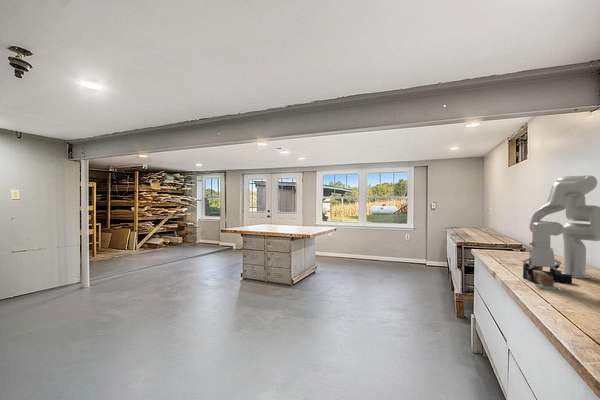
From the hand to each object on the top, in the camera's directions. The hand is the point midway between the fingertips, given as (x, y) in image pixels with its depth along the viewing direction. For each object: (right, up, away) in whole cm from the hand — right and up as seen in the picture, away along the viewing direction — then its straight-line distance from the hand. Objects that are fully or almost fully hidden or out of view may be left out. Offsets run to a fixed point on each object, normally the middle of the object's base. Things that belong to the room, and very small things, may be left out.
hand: (541, 276), depth 154 cm
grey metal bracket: (+2, -4, +7) cm, 8 cm away
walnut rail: (0, -3, 0) cm, 3 cm away
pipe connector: (+15, -5, +8) cm, 17 cm away
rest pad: (-2, -4, -7) cm, 8 cm away
